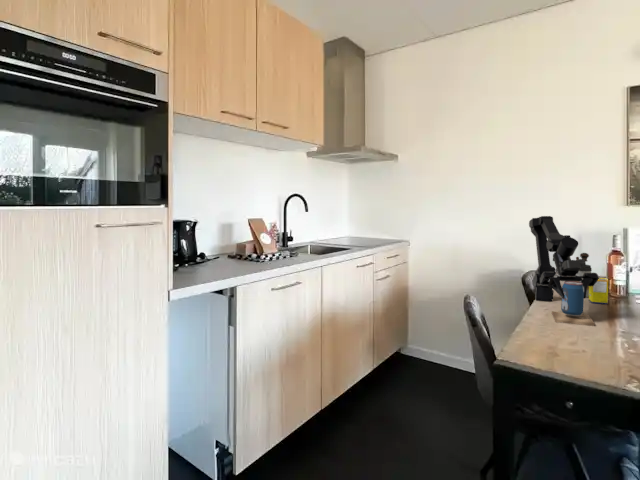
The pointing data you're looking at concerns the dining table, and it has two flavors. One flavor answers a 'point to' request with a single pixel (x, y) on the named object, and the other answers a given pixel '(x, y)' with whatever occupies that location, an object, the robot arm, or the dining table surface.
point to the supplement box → (599, 292)
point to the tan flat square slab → (572, 318)
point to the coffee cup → (581, 273)
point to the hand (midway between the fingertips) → (574, 297)
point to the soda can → (572, 298)
